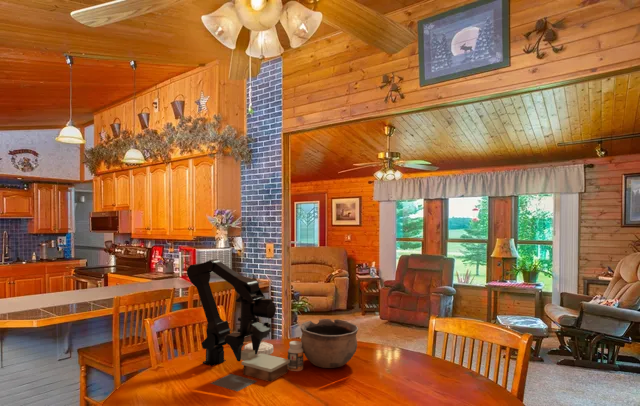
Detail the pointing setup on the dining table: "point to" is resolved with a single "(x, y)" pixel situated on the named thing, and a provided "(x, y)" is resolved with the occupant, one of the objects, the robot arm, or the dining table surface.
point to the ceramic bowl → (329, 342)
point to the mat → (234, 382)
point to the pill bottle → (295, 356)
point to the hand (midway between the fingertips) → (247, 357)
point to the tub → (265, 373)
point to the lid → (262, 360)
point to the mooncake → (261, 348)
